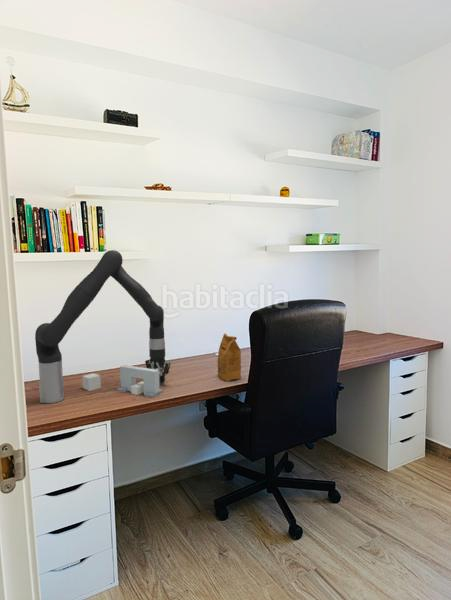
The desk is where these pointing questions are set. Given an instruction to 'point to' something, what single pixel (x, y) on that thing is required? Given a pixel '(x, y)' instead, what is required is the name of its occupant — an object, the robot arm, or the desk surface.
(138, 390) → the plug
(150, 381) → the port plate
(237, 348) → the coffee package
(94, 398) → the desk surface
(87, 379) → the white cube
